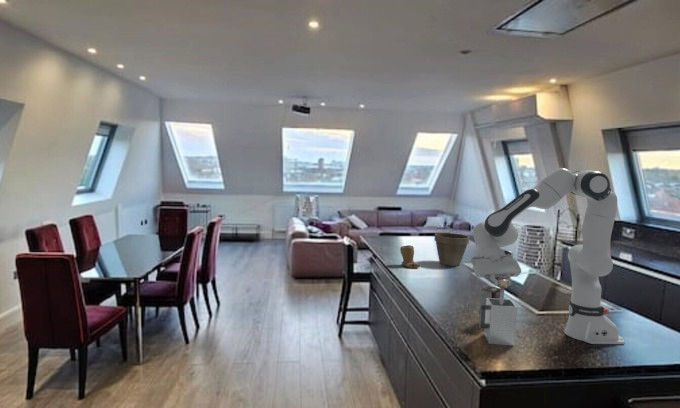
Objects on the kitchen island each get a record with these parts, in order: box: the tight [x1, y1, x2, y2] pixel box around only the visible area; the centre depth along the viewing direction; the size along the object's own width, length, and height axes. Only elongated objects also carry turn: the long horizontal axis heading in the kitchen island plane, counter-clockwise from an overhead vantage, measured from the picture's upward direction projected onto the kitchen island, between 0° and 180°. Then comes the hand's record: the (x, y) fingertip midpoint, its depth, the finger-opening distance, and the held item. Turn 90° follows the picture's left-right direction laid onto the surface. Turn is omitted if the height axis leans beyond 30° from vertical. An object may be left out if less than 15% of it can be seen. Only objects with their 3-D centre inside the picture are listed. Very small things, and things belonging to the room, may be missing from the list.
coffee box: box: [478, 285, 500, 325], centre depth 200 cm, size 9×6×16 cm
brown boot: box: [399, 244, 421, 269], centre depth 309 cm, size 15×12×15 cm
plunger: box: [497, 277, 508, 306], centre depth 180 cm, size 8×8×22 cm
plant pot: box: [434, 232, 470, 267], centre depth 322 cm, size 25×25×22 cm
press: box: [478, 298, 518, 347], centre depth 180 cm, size 13×10×16 cm
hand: (503, 285), depth 178 cm, fingers closed on plunger, 4 cm apart
